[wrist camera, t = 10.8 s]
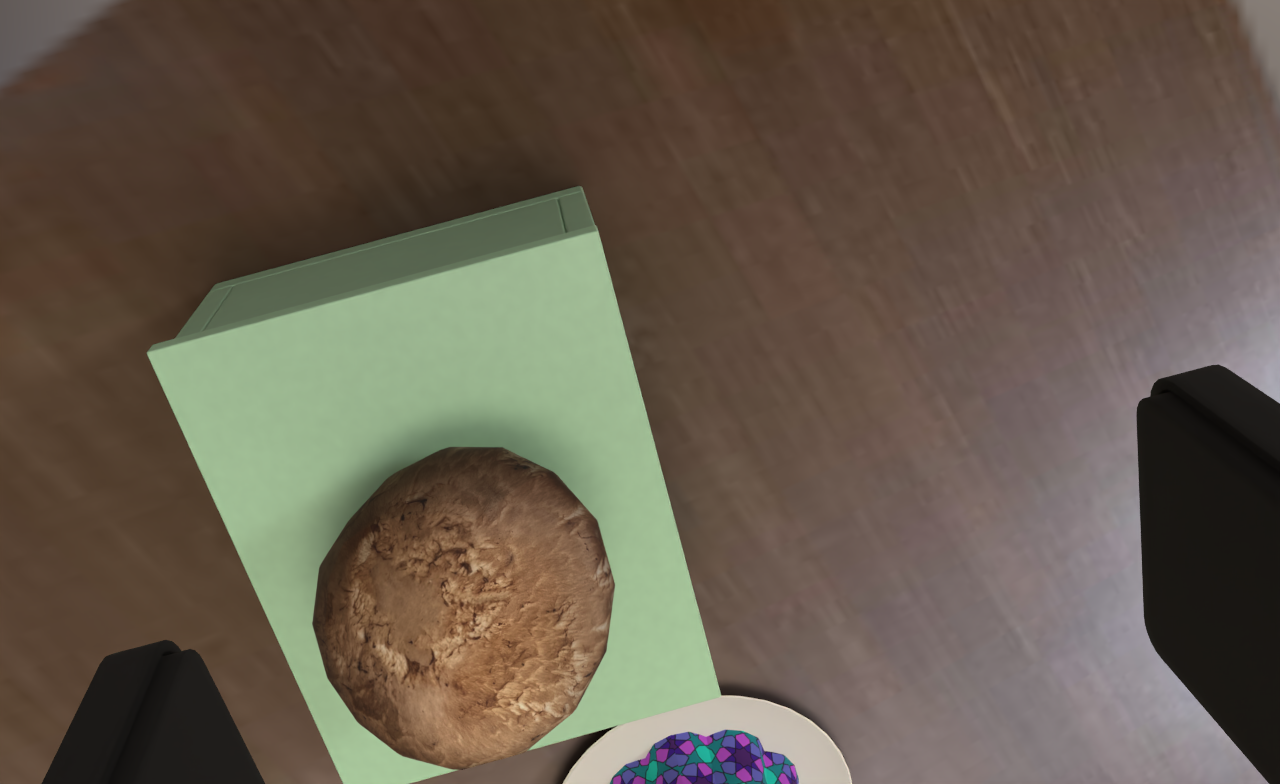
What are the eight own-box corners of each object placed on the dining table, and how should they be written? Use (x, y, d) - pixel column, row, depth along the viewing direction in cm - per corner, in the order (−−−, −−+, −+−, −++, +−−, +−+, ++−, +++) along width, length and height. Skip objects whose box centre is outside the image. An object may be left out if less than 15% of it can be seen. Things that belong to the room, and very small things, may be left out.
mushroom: (676, 725, 30) (581, 793, 24) (420, 734, 33) (280, 797, 27) (642, 428, 31) (543, 426, 25) (394, 462, 34) (252, 466, 28)
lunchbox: (213, 283, 34) (158, 358, 29) (581, 184, 35) (600, 239, 29) (372, 661, 40) (352, 785, 35) (685, 574, 41) (718, 684, 35)
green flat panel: (151, 344, 29) (145, 352, 28) (595, 224, 29) (598, 230, 28) (352, 786, 35) (350, 800, 34) (718, 685, 35) (721, 697, 34)
